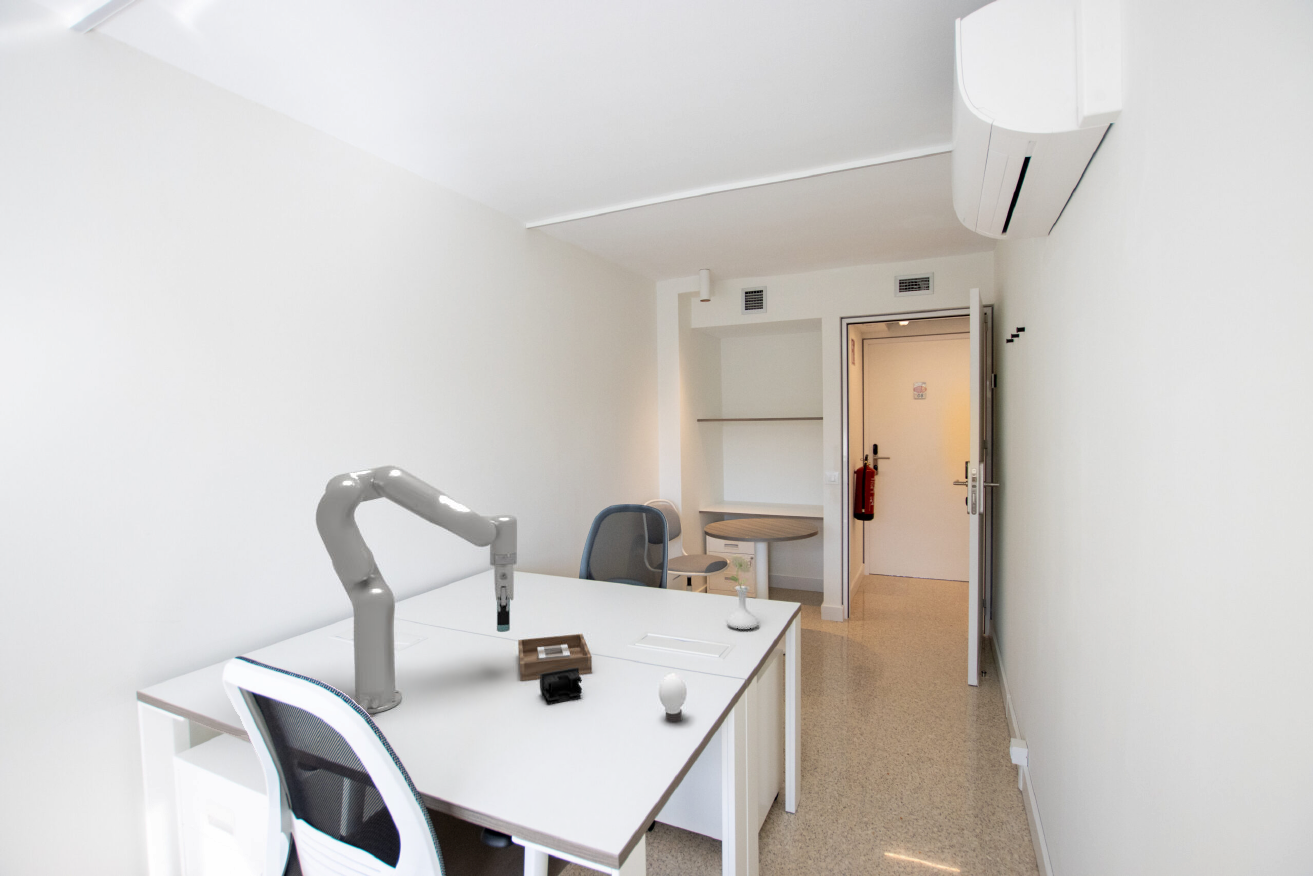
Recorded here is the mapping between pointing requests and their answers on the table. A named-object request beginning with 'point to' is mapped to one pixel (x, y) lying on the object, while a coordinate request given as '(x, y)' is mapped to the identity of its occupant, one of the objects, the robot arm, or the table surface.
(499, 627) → the peg
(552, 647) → the box
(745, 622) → the flower in vase
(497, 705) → the table surface
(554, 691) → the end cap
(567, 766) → the table surface
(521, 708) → the table surface
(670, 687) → the light bulb
